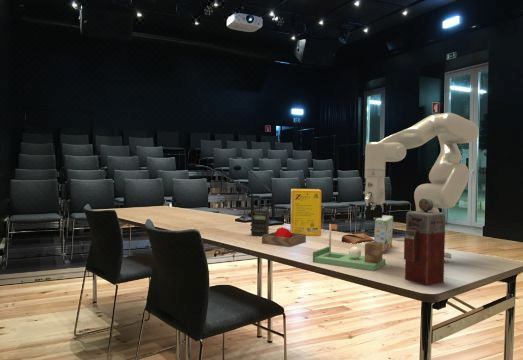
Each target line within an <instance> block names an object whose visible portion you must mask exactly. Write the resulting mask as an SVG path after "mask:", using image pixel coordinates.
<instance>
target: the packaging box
mask: <svg viewBox="0 0 523 360" xmlns="http://www.w3.org/2000/svg"><path fill="white" fill-rule="evenodd" d="M289 231H290V233H299V234H306V237H322V190H321V189H319V188H316V189H315V188H291V189H290V229H289Z"/></svg>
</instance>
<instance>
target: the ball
mask: <svg viewBox="0 0 523 360" xmlns="http://www.w3.org/2000/svg"><path fill="white" fill-rule="evenodd" d="M348 254H349V255H350V257H351V258H353V259H357V258H359V257H360V256H362V250H361V248H360V247H358V246H352V247H350V248H349V250H348Z"/></svg>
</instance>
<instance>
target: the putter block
mask: <svg viewBox="0 0 523 360" xmlns="http://www.w3.org/2000/svg"><path fill="white" fill-rule="evenodd" d="M383 255H384V254H383V243H380V242H374V241H370V242H364V256H365V262H369V263H377V264H378V263H379V262H381V261H382V258H383Z"/></svg>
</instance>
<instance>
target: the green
mask: <svg viewBox="0 0 523 360" xmlns="http://www.w3.org/2000/svg"><path fill="white" fill-rule="evenodd" d="M328 225H329V227H328V228H329V229H328V230H329V231H328V233H329V234H328V246H326V247H323V248H320V249H317V250H315V251H312V263H316V264H317V263H318V264H323V263H324V265H330V264H331V266H337V267H345V268H350V267H351V268H352V269H358V270H364V271H371V272H374V271H376V270H378V269H379V268H382V267H383V266H384V265H386V258H383V257H382V261H381V262H379V263H378V264H377V263H369V262H365V255H361V256H360V257H359V258H357V259H353V258H351V257H350V255H349V253H342V252H335V251H332V230H338V224H333V223H329V224H328ZM351 268H350V269H351Z"/></svg>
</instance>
